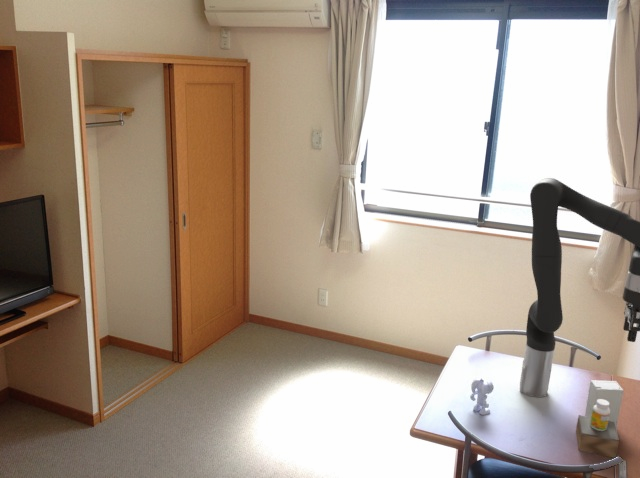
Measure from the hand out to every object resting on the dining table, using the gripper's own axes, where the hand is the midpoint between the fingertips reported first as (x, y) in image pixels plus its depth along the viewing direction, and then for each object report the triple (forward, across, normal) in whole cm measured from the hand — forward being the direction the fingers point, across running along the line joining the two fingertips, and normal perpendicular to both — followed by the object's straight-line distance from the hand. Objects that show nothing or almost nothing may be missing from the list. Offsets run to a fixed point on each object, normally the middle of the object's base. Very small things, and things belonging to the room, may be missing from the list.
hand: (628, 335), depth 186 cm
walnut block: (+29, +19, -7) cm, 35 cm away
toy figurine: (+29, +14, -41) cm, 52 cm away
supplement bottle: (+23, +19, -7) cm, 31 cm away
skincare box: (+29, +7, -5) cm, 31 cm away
